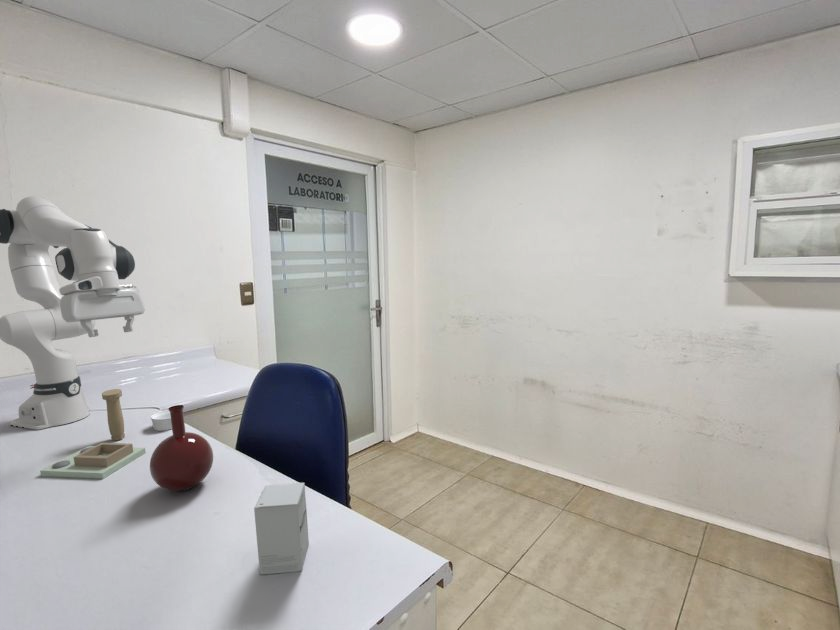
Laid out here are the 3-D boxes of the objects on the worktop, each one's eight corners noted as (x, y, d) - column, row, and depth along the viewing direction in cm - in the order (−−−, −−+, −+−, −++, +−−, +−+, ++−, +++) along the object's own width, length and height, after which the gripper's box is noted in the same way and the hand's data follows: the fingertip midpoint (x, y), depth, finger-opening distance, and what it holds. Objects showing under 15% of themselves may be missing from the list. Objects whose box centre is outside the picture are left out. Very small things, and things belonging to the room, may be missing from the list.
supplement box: (302, 572, 73) (297, 504, 72) (258, 575, 73) (252, 507, 71) (310, 543, 81) (305, 481, 79) (270, 546, 80) (264, 484, 78)
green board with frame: (40, 476, 109) (38, 461, 109) (89, 450, 123) (87, 437, 123) (103, 478, 107) (101, 463, 107) (145, 452, 121) (143, 439, 120)
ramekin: (181, 419, 146) (180, 406, 145) (184, 427, 139) (183, 414, 138) (151, 425, 141) (149, 413, 140) (152, 434, 134) (151, 421, 133)
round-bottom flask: (150, 509, 93) (139, 422, 90) (155, 481, 105) (145, 404, 102) (217, 492, 99) (208, 410, 96) (214, 468, 111) (206, 394, 108)
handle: (109, 444, 127) (102, 396, 125) (108, 438, 132) (101, 391, 130) (128, 440, 130) (122, 392, 128) (126, 433, 135) (120, 387, 133)
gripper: (129, 286, 129) (140, 331, 129) (51, 289, 110) (64, 341, 110) (143, 281, 126) (154, 327, 127) (66, 284, 107) (79, 337, 108)
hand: (111, 334), depth 118 cm, fingers open, 8 cm apart
